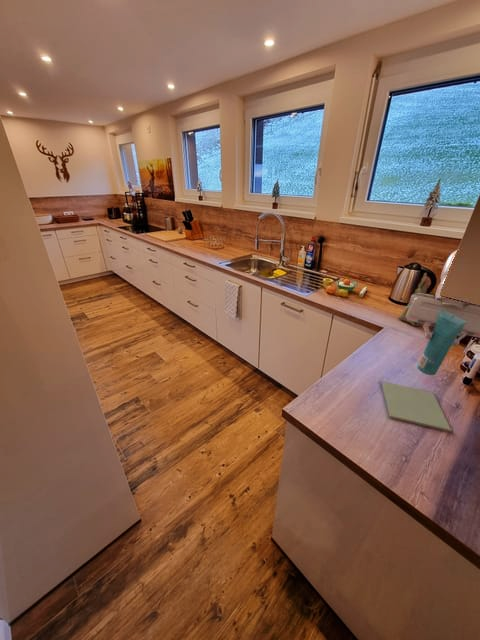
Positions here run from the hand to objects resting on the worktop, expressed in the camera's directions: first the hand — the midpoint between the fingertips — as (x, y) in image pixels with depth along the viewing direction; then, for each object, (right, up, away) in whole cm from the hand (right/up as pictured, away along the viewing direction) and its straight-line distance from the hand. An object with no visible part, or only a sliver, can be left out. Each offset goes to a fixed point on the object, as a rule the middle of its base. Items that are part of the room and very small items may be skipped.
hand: (440, 341), depth 75 cm
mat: (-2, -21, +9) cm, 23 cm away
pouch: (+30, +5, +61) cm, 68 cm away
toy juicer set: (+10, +24, +93) cm, 96 cm away
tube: (0, -9, +6) cm, 11 cm away
